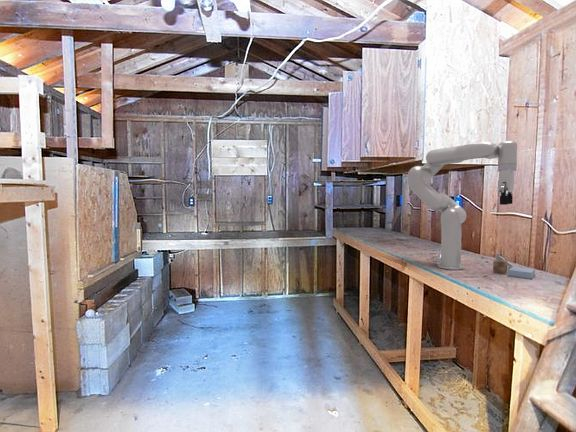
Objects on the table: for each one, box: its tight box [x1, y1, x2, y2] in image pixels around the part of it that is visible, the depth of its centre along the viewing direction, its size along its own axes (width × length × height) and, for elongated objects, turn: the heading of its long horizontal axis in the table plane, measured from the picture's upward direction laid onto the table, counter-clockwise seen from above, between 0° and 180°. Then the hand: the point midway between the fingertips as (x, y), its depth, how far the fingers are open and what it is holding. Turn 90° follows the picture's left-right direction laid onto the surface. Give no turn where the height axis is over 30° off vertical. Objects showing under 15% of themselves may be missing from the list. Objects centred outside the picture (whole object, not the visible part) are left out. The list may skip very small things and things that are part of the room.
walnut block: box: [492, 258, 508, 275], centre depth 171 cm, size 5×5×6 cm
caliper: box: [495, 252, 517, 268], centre depth 184 cm, size 20×1×6 cm, turn 179°
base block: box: [507, 266, 536, 280], centre depth 165 cm, size 9×9×3 cm
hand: (506, 204), depth 165 cm, fingers open, 9 cm apart
